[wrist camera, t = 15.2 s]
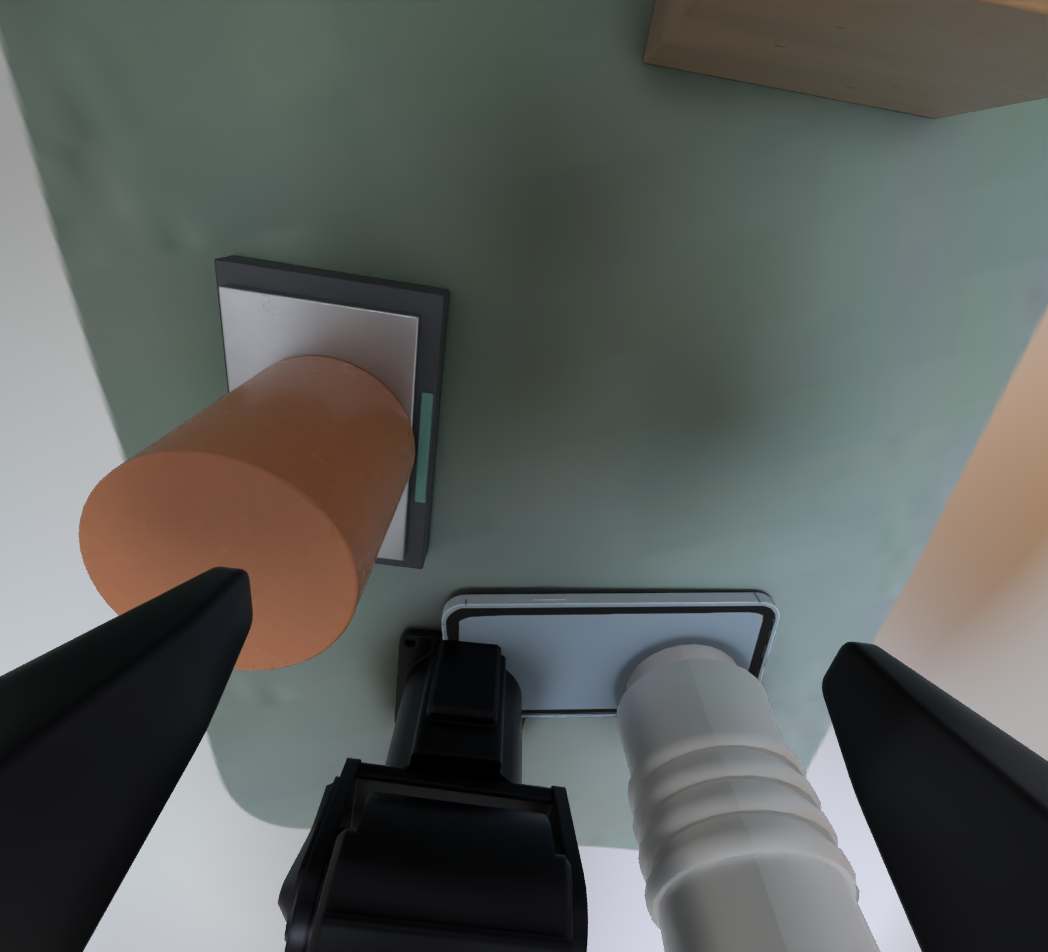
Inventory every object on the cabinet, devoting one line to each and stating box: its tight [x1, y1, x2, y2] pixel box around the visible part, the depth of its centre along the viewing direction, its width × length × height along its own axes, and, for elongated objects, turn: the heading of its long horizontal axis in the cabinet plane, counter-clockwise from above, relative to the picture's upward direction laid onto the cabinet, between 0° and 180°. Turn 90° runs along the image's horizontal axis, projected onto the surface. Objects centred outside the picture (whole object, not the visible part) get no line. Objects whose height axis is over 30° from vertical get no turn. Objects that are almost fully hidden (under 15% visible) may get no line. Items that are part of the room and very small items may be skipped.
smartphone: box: [441, 592, 780, 718], centre depth 25 cm, size 7×1×15 cm
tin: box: [79, 356, 415, 670], centre depth 16 cm, size 6×6×8 cm
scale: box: [215, 255, 449, 569], centre depth 20 cm, size 11×7×2 cm, turn 171°
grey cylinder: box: [617, 644, 880, 952], centre depth 20 cm, size 7×7×15 cm
